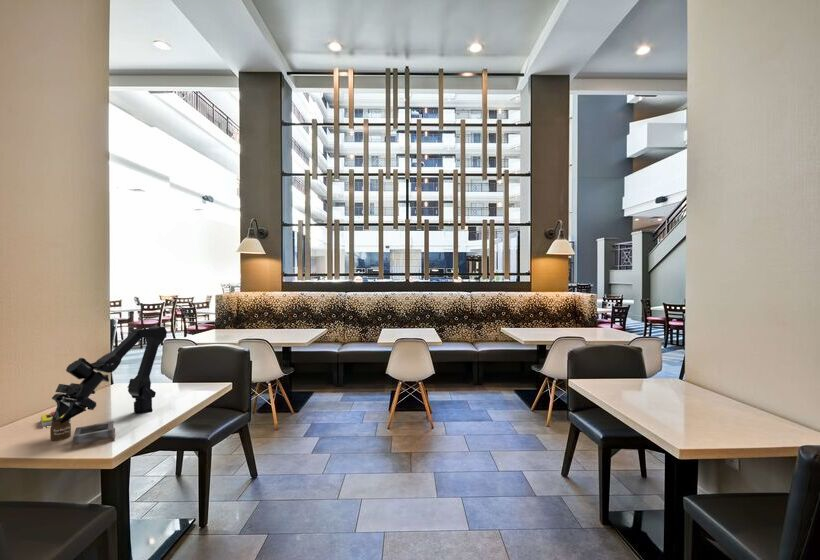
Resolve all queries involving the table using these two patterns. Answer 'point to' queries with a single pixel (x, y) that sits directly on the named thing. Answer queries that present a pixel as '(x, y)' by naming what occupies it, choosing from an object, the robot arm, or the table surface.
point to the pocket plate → (93, 435)
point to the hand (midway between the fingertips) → (56, 421)
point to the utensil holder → (60, 429)
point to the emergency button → (48, 419)
